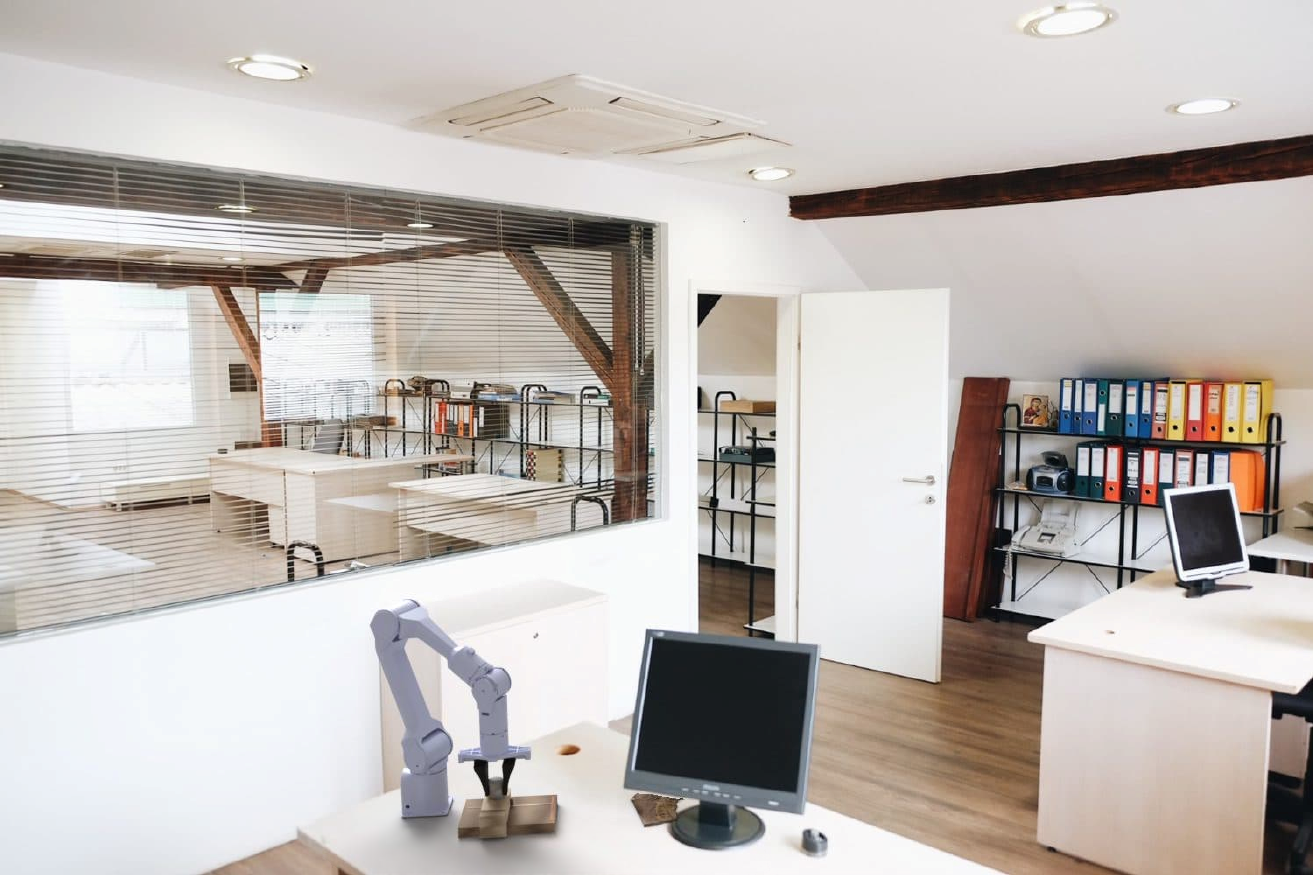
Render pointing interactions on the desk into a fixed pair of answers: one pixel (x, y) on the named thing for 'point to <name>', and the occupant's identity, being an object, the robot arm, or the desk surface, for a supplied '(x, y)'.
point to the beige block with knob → (495, 810)
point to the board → (514, 816)
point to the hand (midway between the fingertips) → (496, 793)
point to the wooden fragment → (655, 808)
